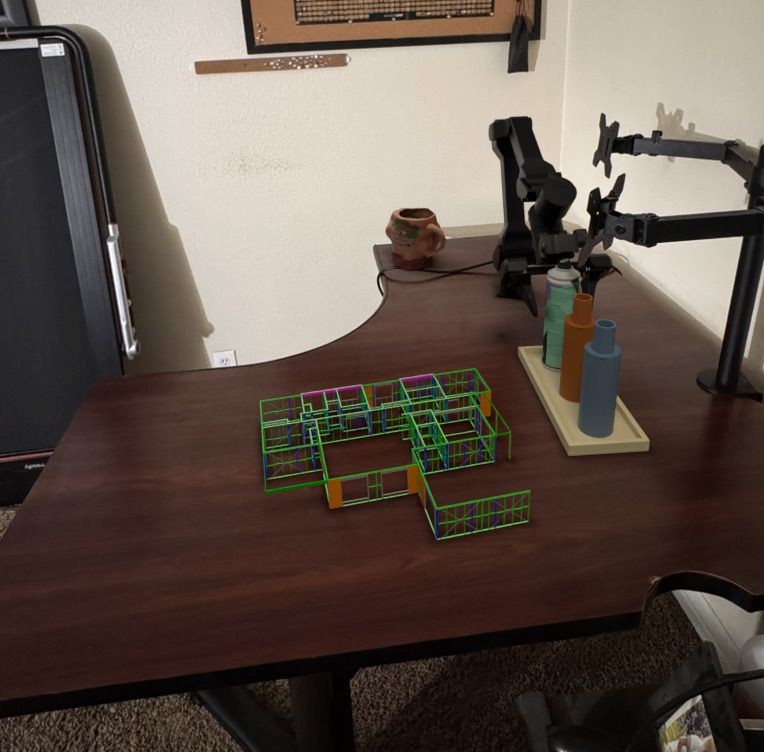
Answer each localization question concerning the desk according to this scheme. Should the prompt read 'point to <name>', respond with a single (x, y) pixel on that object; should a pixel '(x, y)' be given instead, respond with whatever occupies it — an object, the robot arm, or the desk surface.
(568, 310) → the spray can
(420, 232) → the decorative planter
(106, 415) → the desk surface
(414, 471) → the house model
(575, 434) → the tray
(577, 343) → the amber bottle
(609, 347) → the slate bottle
